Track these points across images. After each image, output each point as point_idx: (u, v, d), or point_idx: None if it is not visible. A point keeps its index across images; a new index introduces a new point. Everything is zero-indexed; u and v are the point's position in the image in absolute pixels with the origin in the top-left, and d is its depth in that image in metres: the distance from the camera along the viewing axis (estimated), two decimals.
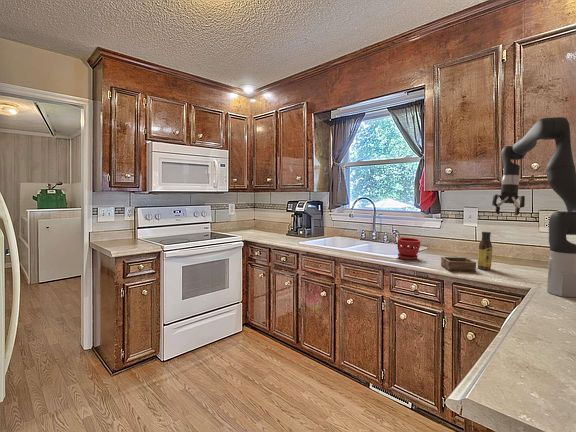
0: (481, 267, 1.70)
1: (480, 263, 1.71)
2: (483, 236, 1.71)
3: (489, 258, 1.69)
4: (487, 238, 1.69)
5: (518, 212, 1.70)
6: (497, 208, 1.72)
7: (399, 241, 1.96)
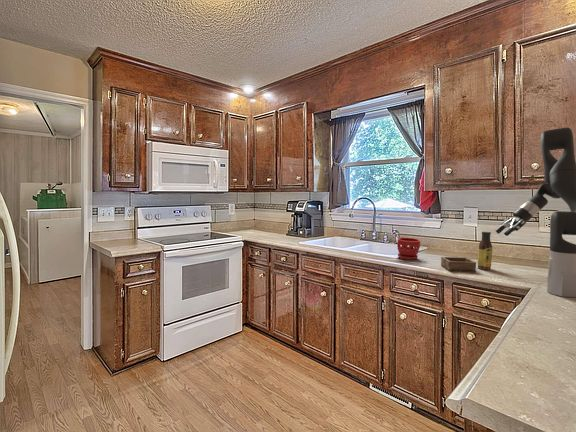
0: (481, 267, 1.70)
1: (480, 263, 1.71)
2: (483, 236, 1.71)
3: (489, 258, 1.69)
4: (487, 238, 1.69)
5: (507, 231, 1.65)
6: None
7: (399, 241, 1.96)
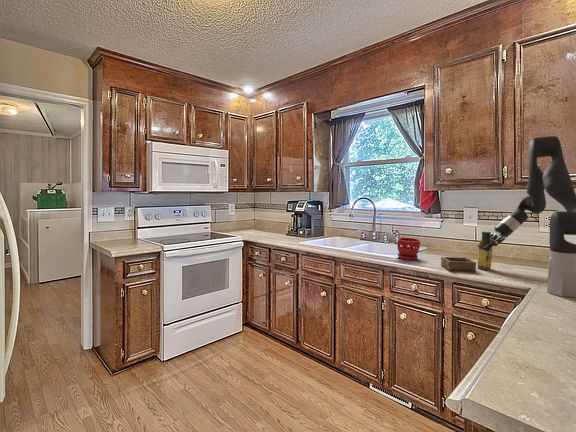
0: (481, 267, 1.70)
1: (480, 263, 1.71)
2: (483, 236, 1.70)
3: (489, 258, 1.69)
4: (487, 238, 1.69)
5: (486, 246, 1.67)
6: None
7: (399, 241, 1.96)
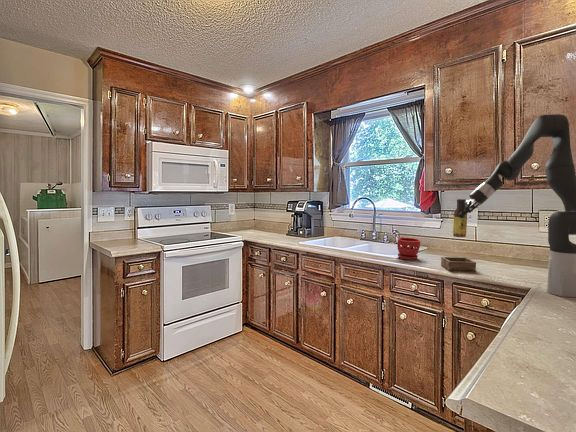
0: (456, 235, 1.69)
1: (455, 231, 1.69)
2: (458, 203, 1.69)
3: (464, 225, 1.67)
4: (462, 205, 1.68)
5: (461, 213, 1.66)
6: None
7: (399, 241, 1.96)
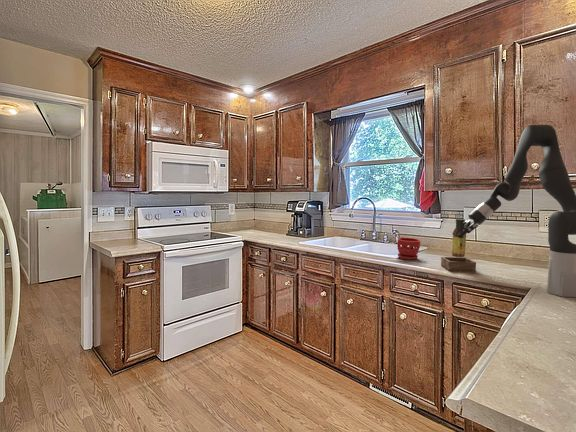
0: (455, 254, 1.70)
1: (454, 250, 1.70)
2: (457, 223, 1.70)
3: (463, 245, 1.68)
4: (461, 225, 1.69)
5: (460, 234, 1.67)
6: None
7: (399, 241, 1.96)
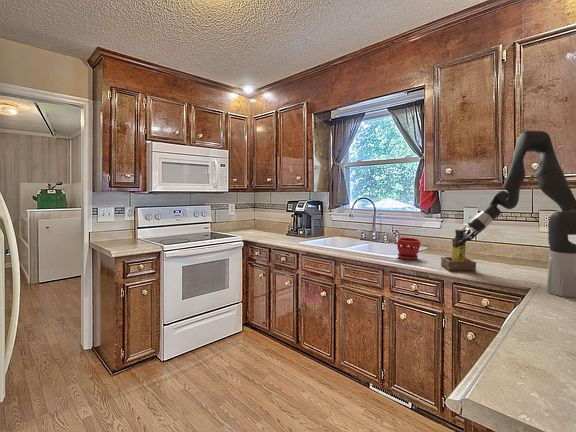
0: None
1: None
2: (456, 234, 1.71)
3: (462, 256, 1.69)
4: (460, 236, 1.69)
5: (461, 241, 1.66)
6: None
7: (399, 241, 1.96)
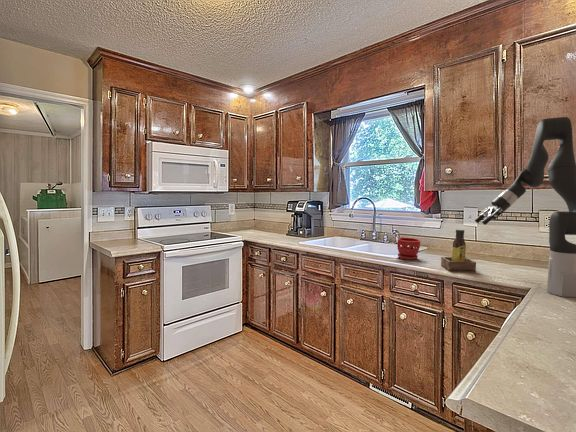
0: None
1: None
2: (457, 234, 1.71)
3: (462, 256, 1.69)
4: (461, 236, 1.69)
5: (485, 220, 1.64)
6: None
7: (399, 241, 1.96)
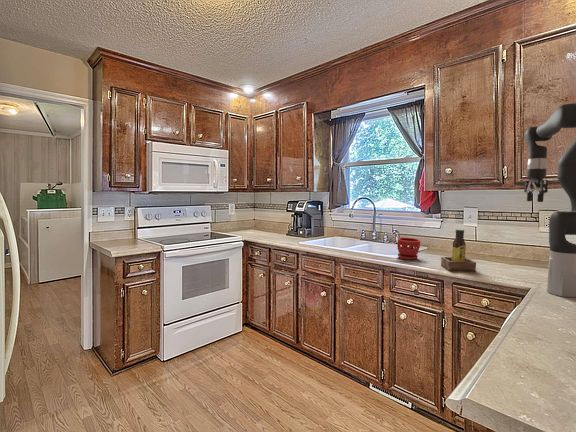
0: None
1: None
2: (457, 234, 1.71)
3: (462, 256, 1.69)
4: (460, 236, 1.69)
5: (539, 198, 1.54)
6: None
7: (399, 241, 1.96)
